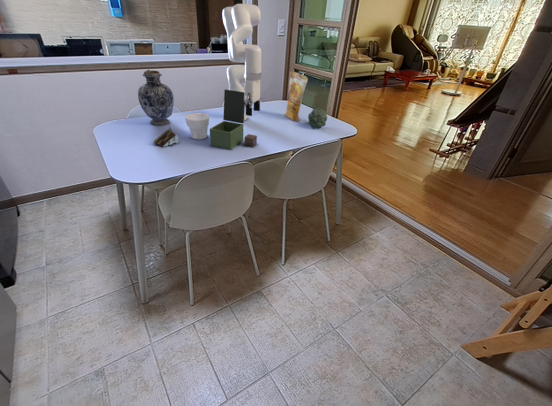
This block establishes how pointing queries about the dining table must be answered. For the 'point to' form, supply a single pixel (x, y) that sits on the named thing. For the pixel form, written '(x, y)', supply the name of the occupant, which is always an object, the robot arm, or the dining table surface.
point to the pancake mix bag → (295, 94)
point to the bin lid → (234, 106)
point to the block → (250, 140)
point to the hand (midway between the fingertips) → (252, 113)
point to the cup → (197, 125)
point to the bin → (226, 135)
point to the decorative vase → (156, 98)
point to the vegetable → (317, 118)
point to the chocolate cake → (166, 138)
